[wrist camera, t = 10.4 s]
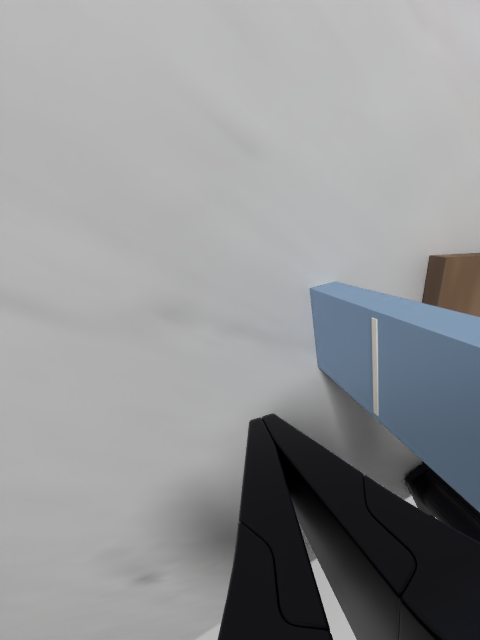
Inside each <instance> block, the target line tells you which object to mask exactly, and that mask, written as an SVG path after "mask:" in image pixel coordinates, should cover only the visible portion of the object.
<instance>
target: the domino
mask: <svg viewBox="0 0 480 640" xmlns="http://www.w3.org/2000/svg"><path fill="white" fill-rule="evenodd" d="M422 303H424V304H428V305H432V306H436V307H440V308H444V309H448V310H453V311H457V312H461V313H465V314H469V315H473V316H477V317H480V253H470V254H451V255H431V256H430V258H429V264H428V271H427V277H426V283H425V289H424V295H423V301H422Z"/></svg>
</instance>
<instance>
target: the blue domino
mask: <svg viewBox="0 0 480 640" xmlns="http://www.w3.org/2000/svg"><path fill="white" fill-rule="evenodd" d="M310 295H311V305H312V314H313V324H314V334H315V343H316V353H317V362H318V367H319V368H320V369H321V370H323V371H324V372H325V373H326V374H327V375H328V376H329V377H330V378H331V379H333V380H334V381H335V382H336V383H337V384H338V385H339V386H340V387H341V388H342V389H344V390H345V391H346V392H347V393H348V394H349V395H350V396H351V397H352V398H354V399H355V400H356V401H357V402H358V403H359V404H360V405H361V406H362V407H363V408H365V409H366V410H367V411H368V412H369V413H370V414H371V415H372V416H373V417H375V418H376V419H377V420H378V421H379V422H380V423H381V424H382V425H383V426H384V427H386V428H387V429H388V430H389V431H390V432H391V433H392V434H393V435H394V436H396V437H397V438H398V439H399V440H400V441H401V442H402V443H403V444H404V445H406V446H407V447H408V448H409V449H410V450H411V451H412V452H413V453H414V454H415V455H417V456H418V457H419V458H420V459H421V460H422V461H423V462H424V463H425V464H427V465H428V466H429V467H430V468H431V469H432V470H433V471H434V472H435V473H436V474H438V475H439V476H440V477H441V478H442V479H443V480H444V481H445V482H446V483H448V484H449V485H450V486H451V487H452V488H453V489H454V490H455V491H456V492H457V493H459V494H460V495H461V496H462V497H463V498H464V499H465V500H466V501H467V502H469V503H470V504H471V505H472V506H473V507H474V508H475V509H476V510H477V511H478V512H480V317H477V316H473V315H469V314H465V313H461V312H457V311H453V310H448V309H444V308H440V307H436V306H432V305H428V304H424V303H420V302H416V301H412V300H408V299H404V298H400V297H396V296H392V295H388V294H384V293H380V292H376V291H371V290H367V289H363V288H359V287H355V286H351V285H347V284H343V283H339V282H333V283H329V284H325V285H321V286H317V287H313V288H310Z"/></svg>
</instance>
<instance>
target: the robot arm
mask: <svg viewBox="0 0 480 640" xmlns="http://www.w3.org/2000/svg"><path fill="white" fill-rule="evenodd" d="M405 482H406V484H407V486H408V488H409V490H410V492H411V494H412V496H413V499H414V501H415V503H416V505H417V507H418V508H416V507H415V506H413V505H411V504H410V503H408V502H406V501H405V500H403V499H401V498H400V497H398V496H396V495H395V494H393V493H392V492H390V491H389V490H387V489H385V488H384V487H382V486H381V485H379V484H378V483H376V482H375V481H373V480H372V479H370V478H369V477H367V476H366V475H365V476H364V477H363V473H361V472H360V471H358V470H357V469H355V468H354V467H352V466H351V465H349V464H348V463H346V462H345V461H343V460H342V459H340V458H339V457H337V456H336V455H334V454H333V453H331V452H330V451H329V450H327V449H326V448H324V447H323V446H321V445H320V444H318V443H317V442H315V441H314V440H312V439H311V438H309V437H308V436H306V435H305V434H303V433H302V432H300V431H299V430H297V429H296V428H294V427H293V426H291V425H290V424H288V423H287V422H285V421H284V420H282V419H281V418H279V417H278V416H277V415H275V414H269V415H266V416H263V417H262V418H256V419H253V420H250V422H249V429H248V438H247V448H246V457H245V466H244V476H243V485H242V495H241V504H240V513H239V523H238V530H237V539H236V547H235V554H234V561H233V568H232V573H231V578H230V584H229V589H228V594H227V599H226V604H225V608H224V613H223V618H222V622H221V627H220V632H219V636H218V640H333V638H332V635H331V633H330V628H329V624H328V621H327V618H326V614H325V611H324V607H323V604H322V601H321V597H320V594H319V590H318V587H317V584H316V580H315V577H314V574H313V570H312V567H311V563H310V560H309V557H308V553H307V550H306V546H305V543H304V540H303V536H302V533H301V529H300V526H299V523H298V520H299V522H300V524H301V526H302V528H303V530H304V532H305V534H306V536H307V538H308V540H309V542H310V545H311V547H312V549H313V551H314V553H315V555H316V557H317V559H318V561H319V563H320V565H321V567H322V569H323V571H324V573H325V575H326V577H327V579H328V581H329V583H330V586H331V588H332V590H333V592H334V594H335V596H336V598H337V600H338V602H339V604H340V606H341V608H342V610H343V612H344V614H345V616H346V618H347V620H348V622H349V624H350V626H351V629H352V630H353V633H354V635H355V637H356V639H357V640H480V512H478V511H477V510H476V509H475V508H474V507H473V506H472V505H471V504H470V503H469V502H467V501H466V500H465V499H464V498H463V497H462V496H461V495H460V494H459V493H457V492H456V491H455V490H454V489H453V488H452V487H451V486H450V485H449V484H448V483H446V482H445V481H444V480H443V479H442V478H441V477H440V476H439V475H438V474H436V473H435V472H434V471H433V470H432V469H431V468H430V467H429V466H428V465H427V464H424V465H422V466H421V467H419V468H418V469H416V470H415V471H413V472H412V473H410V474H409V475H408V476H407V477H406V479H405ZM435 517H436V518H437V519H436V518H435ZM297 518H298V519H297Z"/></svg>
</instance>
